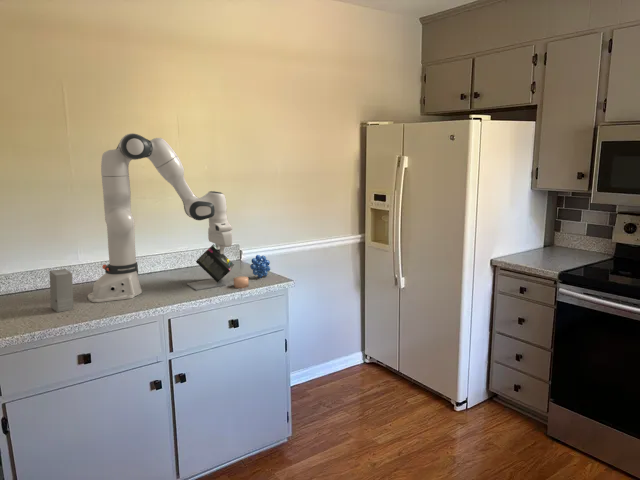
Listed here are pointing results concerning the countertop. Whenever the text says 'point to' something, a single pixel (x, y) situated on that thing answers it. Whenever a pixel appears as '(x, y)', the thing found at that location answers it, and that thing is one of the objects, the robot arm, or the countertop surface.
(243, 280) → the tan round lump
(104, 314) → the countertop surface
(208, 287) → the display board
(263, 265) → the grapes
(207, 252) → the tampon box
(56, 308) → the skincare box
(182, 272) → the countertop surface
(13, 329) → the countertop surface
